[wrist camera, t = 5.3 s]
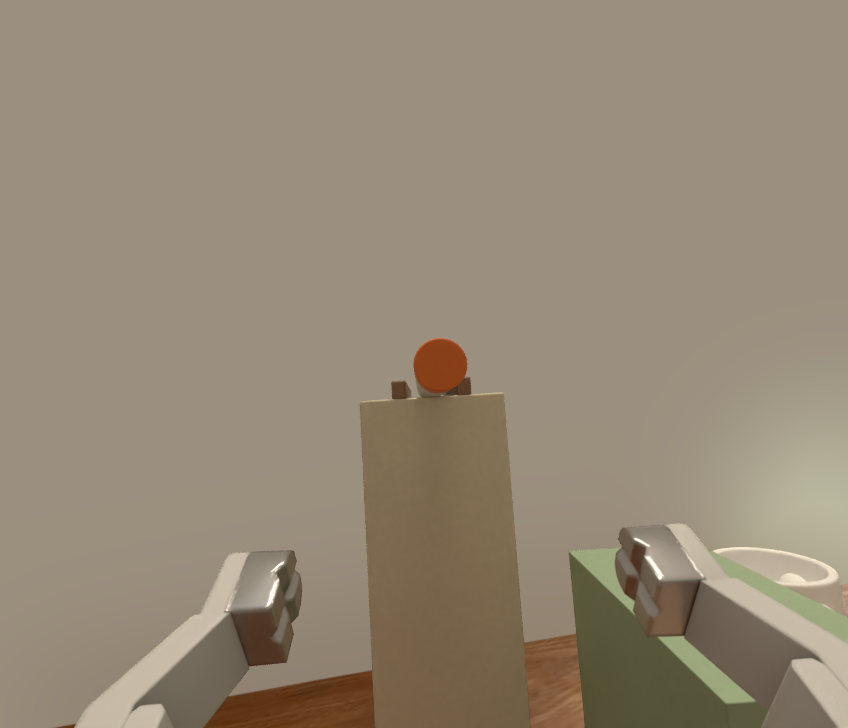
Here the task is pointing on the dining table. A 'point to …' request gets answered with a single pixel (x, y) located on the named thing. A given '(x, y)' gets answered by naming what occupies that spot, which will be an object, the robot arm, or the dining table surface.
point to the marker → (439, 367)
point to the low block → (661, 655)
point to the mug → (792, 573)
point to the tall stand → (442, 562)
